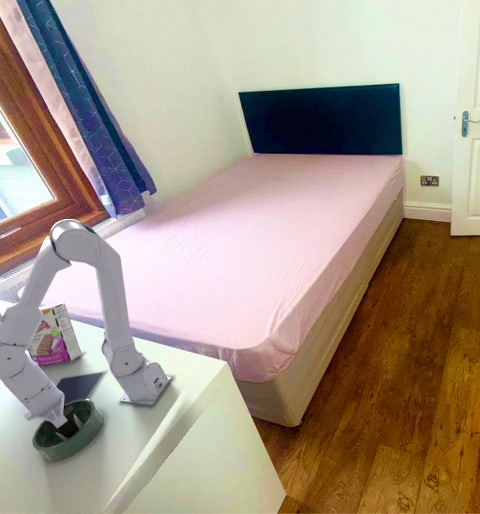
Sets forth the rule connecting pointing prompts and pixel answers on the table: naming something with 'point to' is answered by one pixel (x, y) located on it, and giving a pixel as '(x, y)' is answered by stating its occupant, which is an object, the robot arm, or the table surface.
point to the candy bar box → (54, 338)
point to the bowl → (59, 449)
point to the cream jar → (77, 425)
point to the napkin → (77, 386)
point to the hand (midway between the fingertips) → (70, 429)
